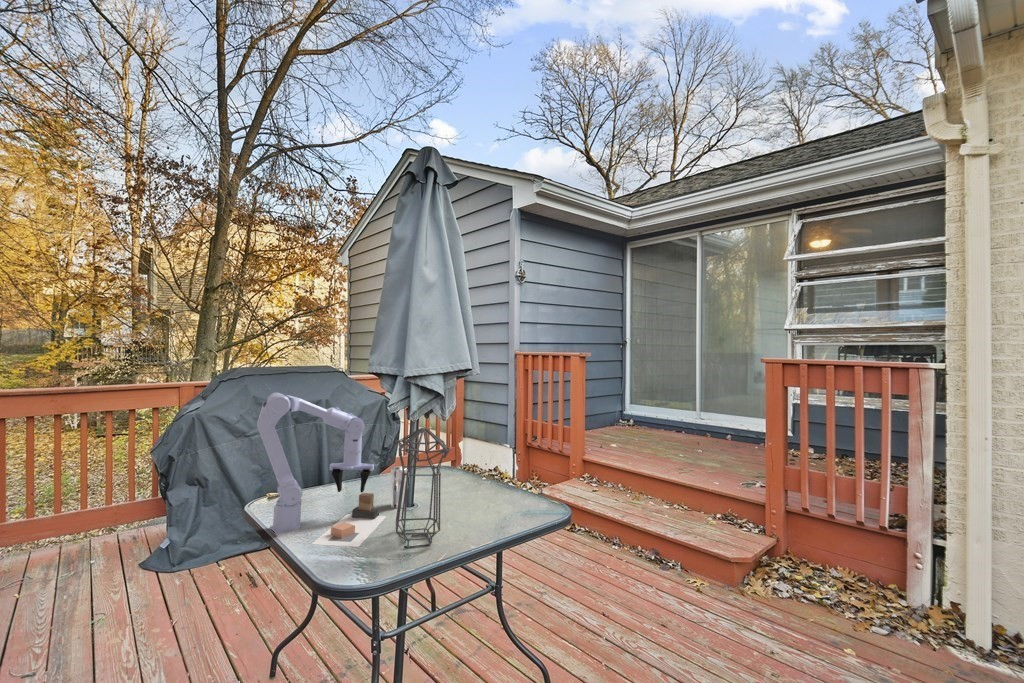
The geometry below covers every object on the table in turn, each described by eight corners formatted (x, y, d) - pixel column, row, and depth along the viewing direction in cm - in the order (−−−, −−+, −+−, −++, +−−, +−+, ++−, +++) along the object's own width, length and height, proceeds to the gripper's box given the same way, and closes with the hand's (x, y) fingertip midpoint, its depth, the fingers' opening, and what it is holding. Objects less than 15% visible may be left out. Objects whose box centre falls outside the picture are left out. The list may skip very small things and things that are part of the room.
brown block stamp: (356, 513, 161) (357, 492, 161) (379, 515, 160) (379, 493, 160) (351, 517, 157) (352, 495, 157) (374, 519, 156) (375, 496, 156)
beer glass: (407, 511, 168) (409, 470, 168) (387, 512, 167) (389, 470, 167) (408, 505, 175) (410, 465, 175) (389, 505, 173) (391, 465, 174)
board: (346, 517, 160) (346, 514, 160) (386, 519, 159) (386, 516, 159) (311, 548, 134) (311, 544, 134) (358, 550, 133) (358, 546, 133)
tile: (344, 529, 146) (344, 521, 146) (354, 533, 143) (355, 525, 143) (330, 534, 141) (331, 526, 141) (341, 538, 139) (341, 530, 139)
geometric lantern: (390, 533, 147) (397, 424, 149) (439, 531, 151) (445, 424, 153) (391, 553, 132) (399, 431, 134) (446, 550, 136) (453, 432, 138)
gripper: (327, 453, 153) (325, 494, 153) (371, 454, 154) (369, 495, 154) (334, 449, 160) (332, 488, 160) (376, 450, 161) (374, 489, 161)
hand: (350, 491), depth 157 cm, fingers open, 7 cm apart
